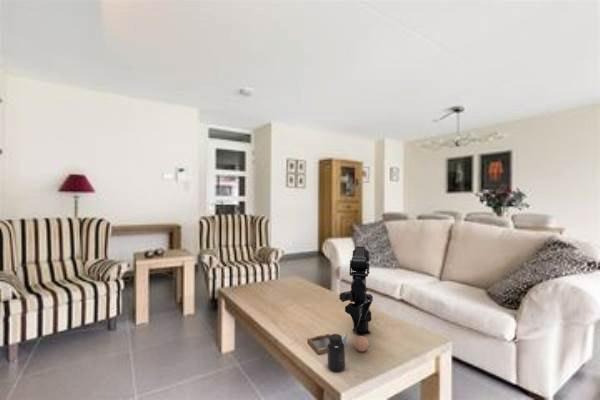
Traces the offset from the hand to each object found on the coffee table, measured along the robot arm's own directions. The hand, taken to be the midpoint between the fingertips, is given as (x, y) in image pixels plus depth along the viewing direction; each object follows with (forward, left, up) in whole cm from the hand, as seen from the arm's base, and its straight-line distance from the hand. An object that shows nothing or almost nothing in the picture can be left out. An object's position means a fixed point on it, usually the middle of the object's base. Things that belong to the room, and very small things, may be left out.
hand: (359, 322), depth 121 cm
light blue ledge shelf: (+9, -4, -12) cm, 15 cm away
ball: (0, 0, -12) cm, 12 cm away
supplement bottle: (+16, +6, -12) cm, 21 cm away
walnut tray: (+13, -10, -12) cm, 20 cm away
